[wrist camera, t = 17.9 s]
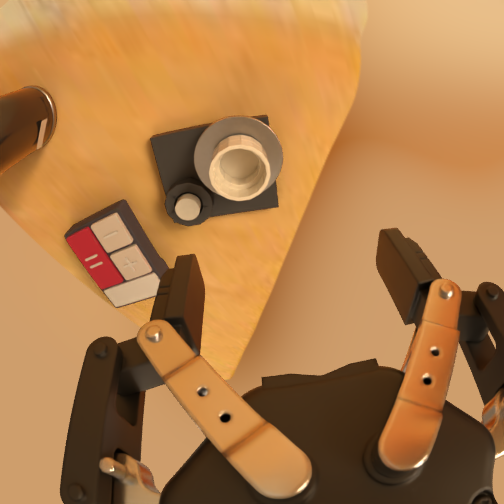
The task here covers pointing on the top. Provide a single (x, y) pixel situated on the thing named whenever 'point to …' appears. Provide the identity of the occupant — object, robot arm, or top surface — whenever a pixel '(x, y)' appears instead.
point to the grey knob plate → (187, 180)
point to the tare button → (188, 206)
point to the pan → (232, 128)
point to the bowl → (239, 168)
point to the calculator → (117, 254)
